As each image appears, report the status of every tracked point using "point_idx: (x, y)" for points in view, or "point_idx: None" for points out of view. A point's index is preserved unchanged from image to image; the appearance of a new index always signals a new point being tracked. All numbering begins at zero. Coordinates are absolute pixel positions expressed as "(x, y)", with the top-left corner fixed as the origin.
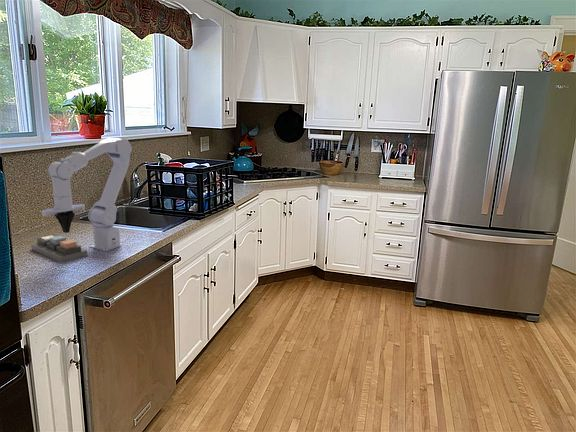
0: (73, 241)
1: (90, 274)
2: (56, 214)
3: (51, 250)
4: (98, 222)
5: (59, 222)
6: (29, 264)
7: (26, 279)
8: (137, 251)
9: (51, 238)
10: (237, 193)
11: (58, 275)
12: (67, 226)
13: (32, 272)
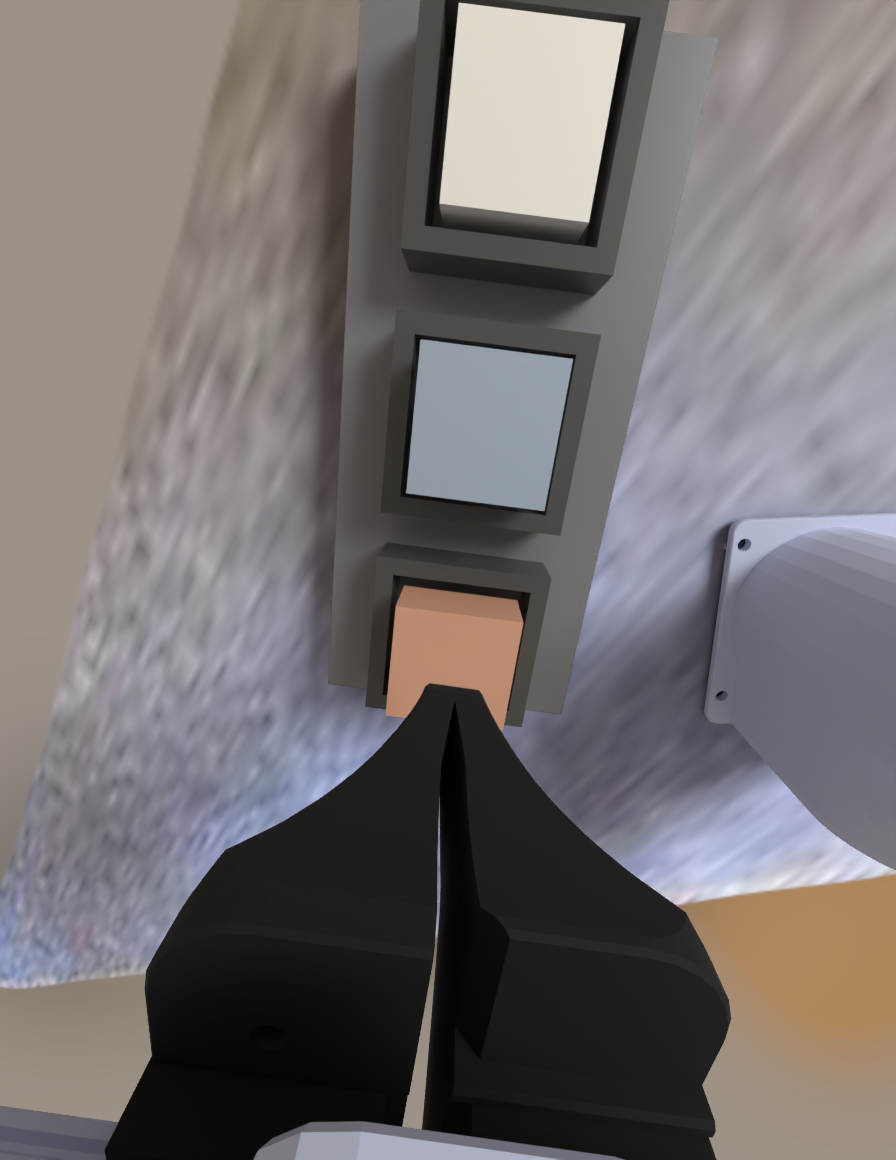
0: (489, 707)
1: None
2: (156, 1086)
3: (378, 466)
4: None
5: (364, 772)
6: (174, 500)
7: (64, 736)
8: (798, 874)
9: (416, 390)
10: None
11: (220, 820)
12: (441, 835)
13: (130, 665)
